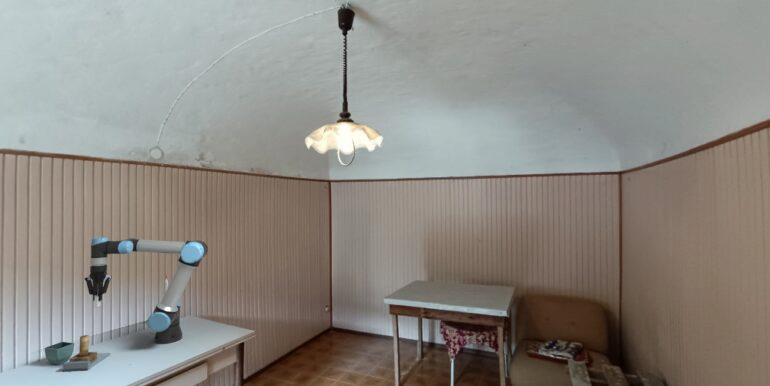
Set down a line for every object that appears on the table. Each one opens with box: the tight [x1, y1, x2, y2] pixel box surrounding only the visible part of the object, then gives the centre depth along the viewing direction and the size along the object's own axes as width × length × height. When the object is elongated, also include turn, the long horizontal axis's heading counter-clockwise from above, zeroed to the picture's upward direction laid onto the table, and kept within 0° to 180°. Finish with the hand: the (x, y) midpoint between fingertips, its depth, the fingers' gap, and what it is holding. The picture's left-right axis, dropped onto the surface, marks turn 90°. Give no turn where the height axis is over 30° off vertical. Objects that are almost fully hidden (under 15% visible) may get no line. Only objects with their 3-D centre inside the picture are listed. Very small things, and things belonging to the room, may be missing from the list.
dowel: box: [78, 334, 90, 357], centre depth 186 cm, size 4×4×13 cm
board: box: [62, 352, 111, 373], centre depth 189 cm, size 11×19×4 cm, turn 9°
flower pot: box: [44, 341, 75, 365], centre depth 189 cm, size 9×9×9 cm
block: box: [68, 351, 98, 364], centre depth 186 cm, size 8×8×4 cm
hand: (97, 306), depth 203 cm, fingers closed
